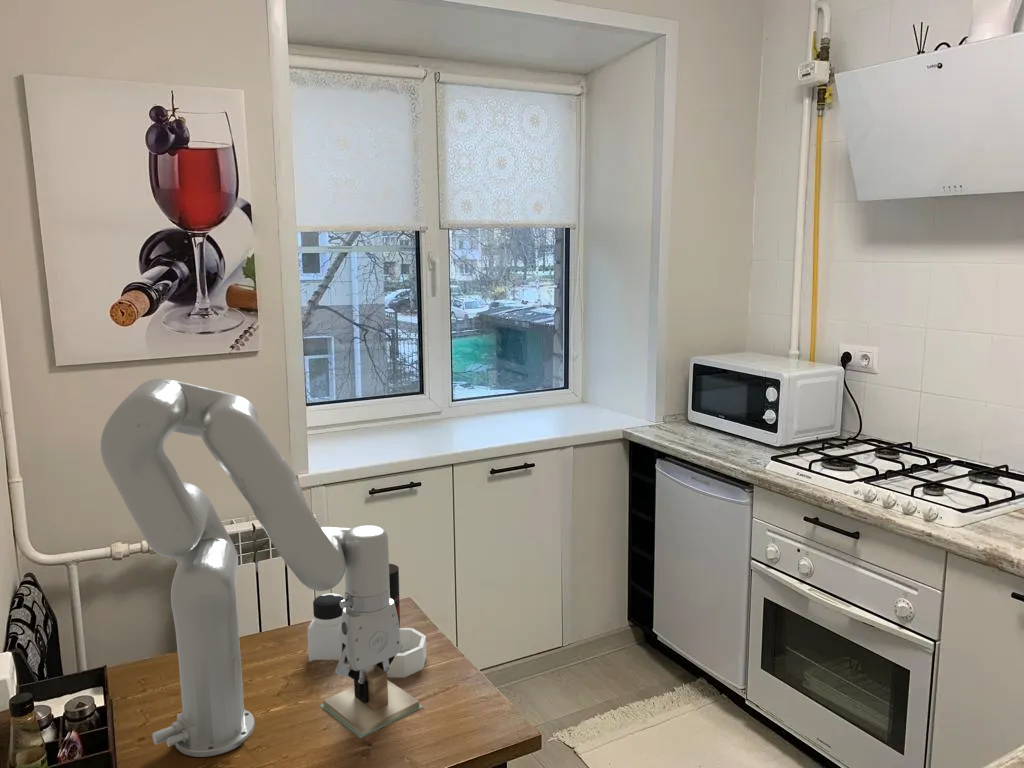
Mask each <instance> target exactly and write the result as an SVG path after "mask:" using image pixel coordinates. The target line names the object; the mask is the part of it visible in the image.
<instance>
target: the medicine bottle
mask: <svg viewBox="0 0 1024 768" xmlns="http://www.w3.org/2000/svg"><path fill="white" fill-rule="evenodd" d="M343 599H345V597H343V596H342V594H339V593H333V592H332V593H331V592H329V593H324V594H320V595H319V596H318V595H317V596H316V598H315V599H314V600H313V601H312V608H313V612H312V613H313V618H312V620H311V621H310V623H309V625H308V627H307V630H306V631H307V648H308V649H307V650H308V651H307V653H308V662H310V663H311V662H313V661H317V660H318V661H339V660H340V650H339V640H340V625H341V618H342V612H343V609H344V608H341V607H340V601H341V600H343Z"/></svg>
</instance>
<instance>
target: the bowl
mask: <svg viewBox="0 0 1024 768" xmlns="http://www.w3.org/2000/svg"><path fill="white" fill-rule="evenodd" d="M400 639H401V645H402V650H401V651H400V652H399V653H398V654H397V655H396V656H395V657H394V659H393V661H392V662H391V664H390V666H389V667H390V669H389V671H388V672H387V678H406V677H409V676H410V675H413V674H415V673H417V672H419V671H422V670H423V669H424V668H425V663H426V659H427V636H426V635H425V634H423V633H422V632H420V631H418V630H417V629H415V628H413V627H400Z"/></svg>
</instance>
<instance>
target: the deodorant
mask: <svg viewBox="0 0 1024 768" xmlns="http://www.w3.org/2000/svg"><path fill="white" fill-rule="evenodd" d="M399 569H400V567H399V566H398V565H396V564H395V563H394V564H393V563H389V587H390V598H391V599H392V600H394V603H395V607H396V611H397V615H398V621H399V628H401V612H400V611H401V609H400V608H401V606H400V604H401V602H400V576H399V574H400V573H399Z"/></svg>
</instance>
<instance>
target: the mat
mask: <svg viewBox="0 0 1024 768" xmlns="http://www.w3.org/2000/svg"><path fill="white" fill-rule="evenodd" d="M319 707H321V708H322V709H324V710H325V711H326V712H327V713H329V715H331V716H332V717H333V718H334V719H336V720H337V721H338V722H339V723H340V724H341V725H343V726H345V727H346V728H347V729H348V730H350V731H351V732H352V733H354V734H355V736H357V737H358V738H359V739H362V738H364V737H366V736H368V735H370V734H372V733H374V732H376V731H378V730H380V729H382V728H383V727H386V726H388V725H389V724H392V723H394V722H396V721H398V720H400V719H401V718H404V717H406V716H408V715H410V714H411V713H413V712H415V711H417V710H420V709H421V708H424V706H423V705H422V704H421V703H419V707H417V708H415V709H413V710H411V711H409V712H407V713H405V714H403V715H401V716H399V717H397V718H395V719H393V720H391V721H389V722H387V723H385V724H383V725H381V726H379V727H377V728H375V729H373V730H371V731H369V732H367V733H365V734H363V735H360V734H359V733H358V732H357V731H355V730H354V729H353V728H352V727H350V726H349V725H348V724H347V723H345V722H344V721H343V720H342V719H340V718H339V717H338V716H337V715H335V714H334V713H333V712H332V711H330V710H329V709H328V708H327V707H325V706H324V703H322V704H320V705H319Z"/></svg>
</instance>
